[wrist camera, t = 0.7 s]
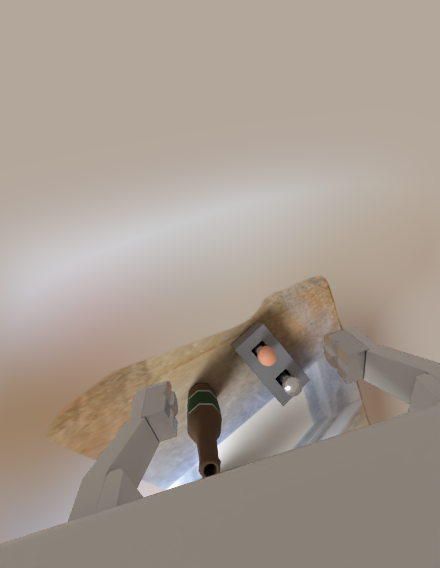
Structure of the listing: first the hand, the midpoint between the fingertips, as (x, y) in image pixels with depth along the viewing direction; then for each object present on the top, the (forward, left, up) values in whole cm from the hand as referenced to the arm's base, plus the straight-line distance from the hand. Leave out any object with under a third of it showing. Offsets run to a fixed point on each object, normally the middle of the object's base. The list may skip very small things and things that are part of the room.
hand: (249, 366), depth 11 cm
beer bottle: (-20, +16, -48) cm, 55 cm away
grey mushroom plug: (-30, -4, -45) cm, 54 cm away
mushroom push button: (-20, -4, -45) cm, 49 cm away
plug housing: (-25, -4, -48) cm, 54 cm away
